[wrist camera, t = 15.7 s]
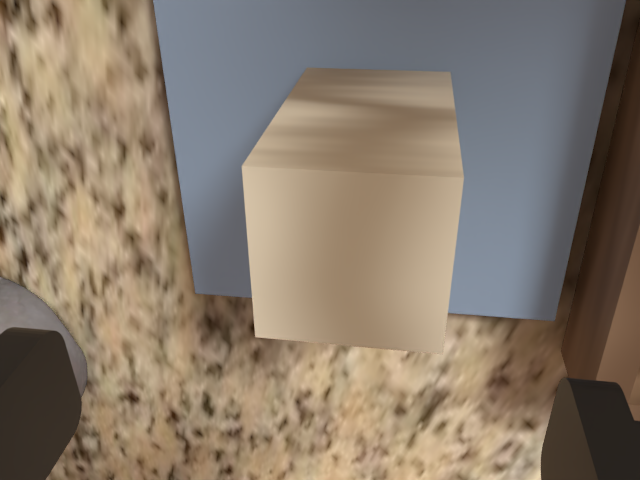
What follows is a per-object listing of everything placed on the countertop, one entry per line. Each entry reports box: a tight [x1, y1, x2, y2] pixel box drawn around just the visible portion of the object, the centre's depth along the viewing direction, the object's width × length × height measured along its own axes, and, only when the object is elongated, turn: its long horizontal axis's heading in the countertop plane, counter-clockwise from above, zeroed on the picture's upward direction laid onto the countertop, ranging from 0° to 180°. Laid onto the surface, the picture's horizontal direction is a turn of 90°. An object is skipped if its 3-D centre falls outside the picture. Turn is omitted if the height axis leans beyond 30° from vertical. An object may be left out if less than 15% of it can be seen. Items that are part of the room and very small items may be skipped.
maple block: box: [242, 68, 464, 354], centre depth 17 cm, size 4×4×8 cm
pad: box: [153, 0, 626, 321], centre depth 21 cm, size 14×14×1 cm
